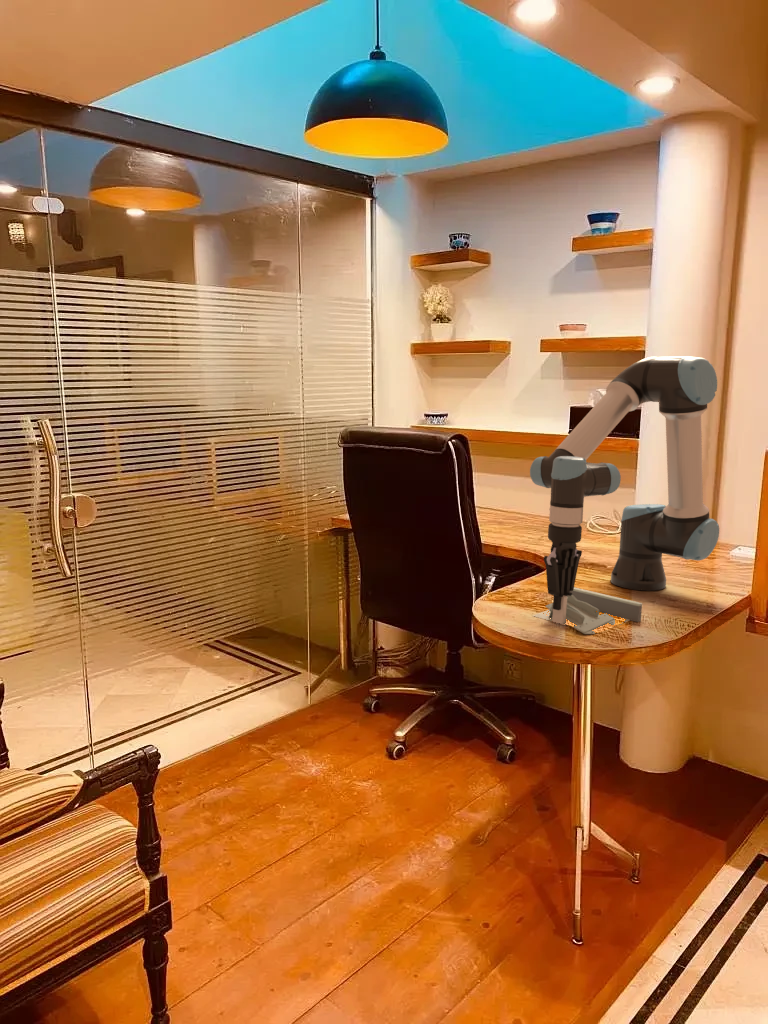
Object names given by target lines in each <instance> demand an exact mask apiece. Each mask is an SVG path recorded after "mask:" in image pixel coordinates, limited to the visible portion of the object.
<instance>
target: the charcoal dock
mask: <svg viewBox="0 0 768 1024" xmlns="http://www.w3.org/2000/svg"><path fill="white" fill-rule="evenodd" d="M570 592H571V593H572V595H573V596H574V597H575V598H576V599H577V600H579V601H583V602H586V603H588V604H590V605H592V606H593V607H595V608H597V609H599V612H602V613H607V614H610V615H613V616H617V617H621V618H624V619H626V620H625V621H624V622H625V623H627V622H630V621H632V622H636V623H640V622H641V621H642V611H643V605H644V604H643V603H642V602H639V601H635V600H630V599H626V598H621V597H619V596H613V595H609V594H604V593H601V592H596V591H592V590H587V589H585V588H583V589H582V588H579V587H575V586H574V589H573V591H570ZM568 596H569V595H567V597H568ZM549 610H550V609H547V610H545V611H541V612H539V613H536V614H533V615H532V617H534V616H535V617H534V618H537V617H538V618H537V619H541V618H542V620H545V619H546V621H548V620H550V621H549V622H552V617H549V616H548V615H550V614H549V613H550V611H549ZM548 611H549V612H548ZM547 612H548V613H547ZM543 613H544V614H543ZM546 614H547V616H546ZM550 618H551V619H550ZM622 623H623V622H622ZM564 624H565V623H564ZM623 624H624V623H623ZM564 626H566V624H565V625H564ZM574 626H575V625H574Z"/></svg>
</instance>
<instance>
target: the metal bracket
mask: <svg viewBox="0 0 768 1024" xmlns="http://www.w3.org/2000/svg"><path fill="white" fill-rule="evenodd" d="M544 607H545V608H546V609H547V610H549V611H550V615H549V617H552V616H553V602H552V603H549V604H546V605H545V606H544ZM596 611H597V612H596ZM565 619H567V620H569V621H570V622H572V623H574V624H576V625H577V626H574V627H573V628H574V629H575V630H576V631H578V632H580V633H582V634H583V635H595V632H594V631H592V630H594V629H596V628H598V627H600V626H603V625H605V624H607V623H609V624H611V625H614V624H615V619H614V618H613V617H611V616H609V615H608V614H606V613H604V614H601V615H599V609H597V608H595V607H593V606H592V605H590V604H588V603H586V602H583V601H579V600H577V599H576V598H575V597H574V596H573V595H571V596H568V597H567V608H566V618H565Z"/></svg>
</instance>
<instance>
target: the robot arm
mask: <svg viewBox="0 0 768 1024" xmlns="http://www.w3.org/2000/svg"><path fill="white" fill-rule="evenodd" d="M717 389H718V377H717V372H716V370H715V368H714V366H713V364H712V363H710V361H709V360H707V359H706V358H704V357H697V356H690V355H686V356H685V355H684V356H681V355H680V356H649V357H644V358H643V359H641V360H637V362H634V363H632V364H631V365H629V366H627V367H626V368H625V369H624V370H622V371H621V372H620V373H618V374H617V375H616V376H615V377H614V378H613V379H612V380H611V381H610V382H609V384H607V386H606V389H605V393H604V395H603V396H602V397H601V398H600V399H599V400H598V402H597V403H596V404H594V406H593V407H592V409H590V410H589V412H588V413H586V415H585V416H584V417H583V418H582V420H580V422H579V423H578V424H577V425H576V426H575V427H574V428H573V429H572V431H570V432H569V434H568V435H567V436H566V437H565V438H564V439H563V441H561V443H560V444H559V445H558V446H557V447H556V448H555V449H554V450H553V452H552V453H551V454H550V455H549V456H538V457H536V458H535V459H534V460H533V461H532V462H531V464H530V468H529V477H530V479H531V481H532V483H534V485H536V486H540V487H543V488H546V489H550V500H549V501H550V502H549V505H550V506H549V517H548V520H549V524H548V531H547V538H548V540H549V541H551V546H550V554H549V555H544V556H543V562H544V564H545V573H546V583H547V584H546V586H547V594H549V595H551V596H553V599H552V600H553V601H552V603H553V616H552V621H553V623H555V622H556V624H559V623H560V625H563V624H564V623H566V619H565V618H566V608H567V595H569V596H571V595H572V593H571V592H570V591H573V589H574V587H575V585H576V584H575V583H576V579H577V574H578V568H579V563H580V560H581V557H582V554H583V550H580V549H577V544H578V543H579V542H580V543H581V540H582V531H583V528H582V527H583V526H581V524H583V521H584V520H583V517H584V504H585V503H584V501H585V498H586V497H594V496H596V497H597V496H606V495H609V494H612V493H615V492H616V491H617V489H619V487H620V484H621V481H622V480H621V479H622V477H621V473H620V470H619V468H618V467H617V466H616V465H615V464H613V463H609V462H598V463H595V462H587V460H588V459H589V457H590V456H592V454H593V453H594V452H595V450H596V449H597V448H598V447H599V446H600V445H601V444H602V443H603V442H604V440H605V439H606V438H607V437H608V435H610V433H611V432H612V431H614V429H615V428H616V426H618V424H619V423H620V422H621V421H622V420H623V419H624V418H625V416H626V415H627V414H628V413H629V412H633V411H635V410H637V408H638V407H639V406H640V405H642V404H645V403H649V402H651V403H652V402H653V403H658V411H659V413H660V414H661V415H662V416H663V417H665V436H666V437H665V438H666V440H665V441H666V442H665V443H666V464H667V465H666V466H667V467H666V469H667V470H666V471H667V472H666V473H667V495H668V497H667V498H668V499H667V500H668V503H667V505H664V504H659V503H657V504H656V503H652V504H651V503H647V504H646V503H645V504H643V503H642V504H632V505H627V506H626V507H624V508H623V510H622V515H621V519H620V523H621V525H620V526H621V527H620V535H619V536H620V539H619V549H618V551H619V552H618V557H617V559H616V563H615V564H614V567H613V568H612V572H611V574H610V583H612V584H613V585H615V586H616V587H620V588H625V589H628V590H635V591H645V592H646V591H648V592H649V591H660V590H664V589H665V588H666V586H667V576H666V573H665V568H664V564H663V560H662V559H663V554H664V555H669V556H671V557H677V558H681V559H684V560H687V561H688V560H692V561H703V560H705V559H707V558H708V557H709V556H710V555H711V553H712V552H713V551H714V549H715V548H716V546H717V544H718V541H719V537H720V526H719V523H718V521H717V520H715V519H714V518H710V508H709V507H708V506H707V505H706V504H704V497H703V496H704V493H703V488H704V487H703V485H704V484H703V482H704V481H703V444H702V443H703V441H702V437H703V435H702V434H703V433H702V414H704V413H705V411H707V410H708V404H709V403H712V401H713V400H714V399H715V396H716V392H717ZM552 621H551V622H552Z"/></svg>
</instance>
